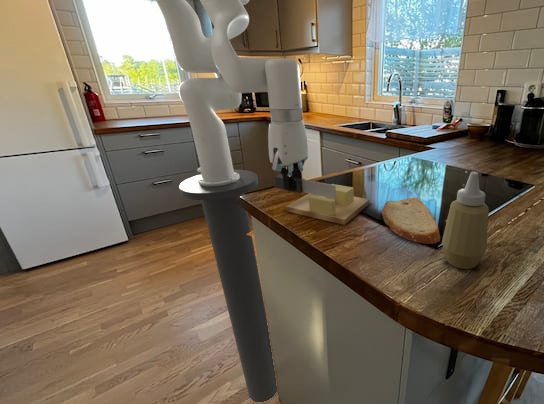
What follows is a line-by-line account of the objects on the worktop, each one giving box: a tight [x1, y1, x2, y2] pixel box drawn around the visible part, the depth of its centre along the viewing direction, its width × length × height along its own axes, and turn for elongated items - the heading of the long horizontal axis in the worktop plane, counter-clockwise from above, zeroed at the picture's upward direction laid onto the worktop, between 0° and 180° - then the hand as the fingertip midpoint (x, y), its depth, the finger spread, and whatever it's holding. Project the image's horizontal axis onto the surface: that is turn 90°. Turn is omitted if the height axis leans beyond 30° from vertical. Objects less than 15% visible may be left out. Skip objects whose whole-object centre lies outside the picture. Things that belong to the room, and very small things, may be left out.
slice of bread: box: [381, 197, 441, 245], centre depth 73 cm, size 18×18×4 cm
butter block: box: [325, 183, 355, 205], centre depth 82 cm, size 7×4×4 cm, turn 63°
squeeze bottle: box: [441, 171, 490, 270], centre depth 54 cm, size 8×8×18 cm
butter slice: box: [309, 196, 336, 216], centre depth 75 cm, size 7×2×4 cm, turn 63°
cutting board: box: [285, 193, 370, 226], centre depth 81 cm, size 18×14×2 cm
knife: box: [274, 174, 337, 199], centre depth 76 cm, size 18×2×4 cm, turn 63°
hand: (293, 187), depth 78 cm, fingers closed on knife, 2 cm apart
